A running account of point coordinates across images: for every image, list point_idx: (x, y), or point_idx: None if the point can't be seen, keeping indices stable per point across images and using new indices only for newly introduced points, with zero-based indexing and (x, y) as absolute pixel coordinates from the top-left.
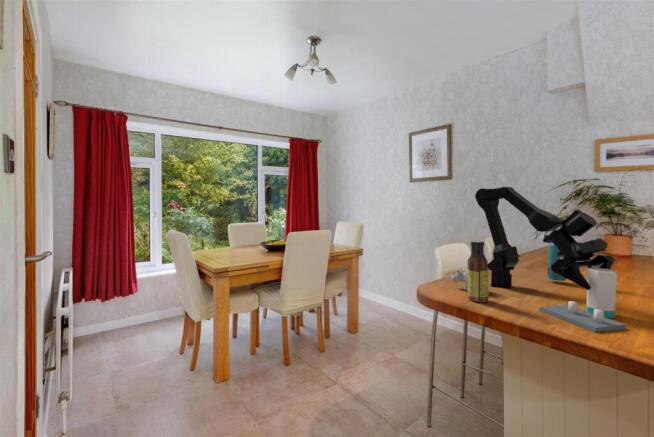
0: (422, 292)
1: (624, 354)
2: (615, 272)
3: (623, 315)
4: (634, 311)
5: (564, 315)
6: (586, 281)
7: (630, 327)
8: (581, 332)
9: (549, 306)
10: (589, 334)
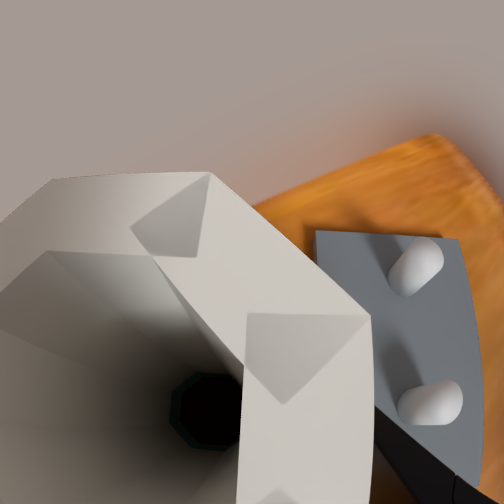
0: None
1: (460, 155)
2: (80, 177)
3: None
4: None
5: (475, 370)
6: (391, 447)
7: None
8: (482, 259)
9: None
10: (471, 242)
